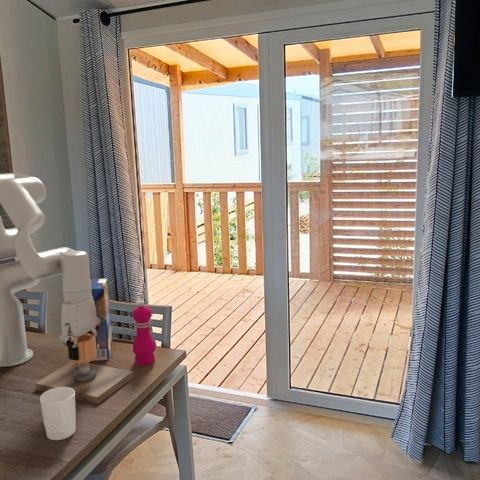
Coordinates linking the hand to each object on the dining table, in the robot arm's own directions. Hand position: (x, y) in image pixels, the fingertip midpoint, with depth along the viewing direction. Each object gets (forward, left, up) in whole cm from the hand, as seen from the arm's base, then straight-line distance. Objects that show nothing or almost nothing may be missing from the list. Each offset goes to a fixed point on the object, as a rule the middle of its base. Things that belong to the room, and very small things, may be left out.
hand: (83, 353), depth 141 cm
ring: (0, 0, -1) cm, 1 cm away
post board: (0, 0, -9) cm, 9 cm away
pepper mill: (+8, +19, -10) cm, 23 cm away
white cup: (+11, -22, -10) cm, 26 cm away
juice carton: (-10, +19, -10) cm, 24 cm away
